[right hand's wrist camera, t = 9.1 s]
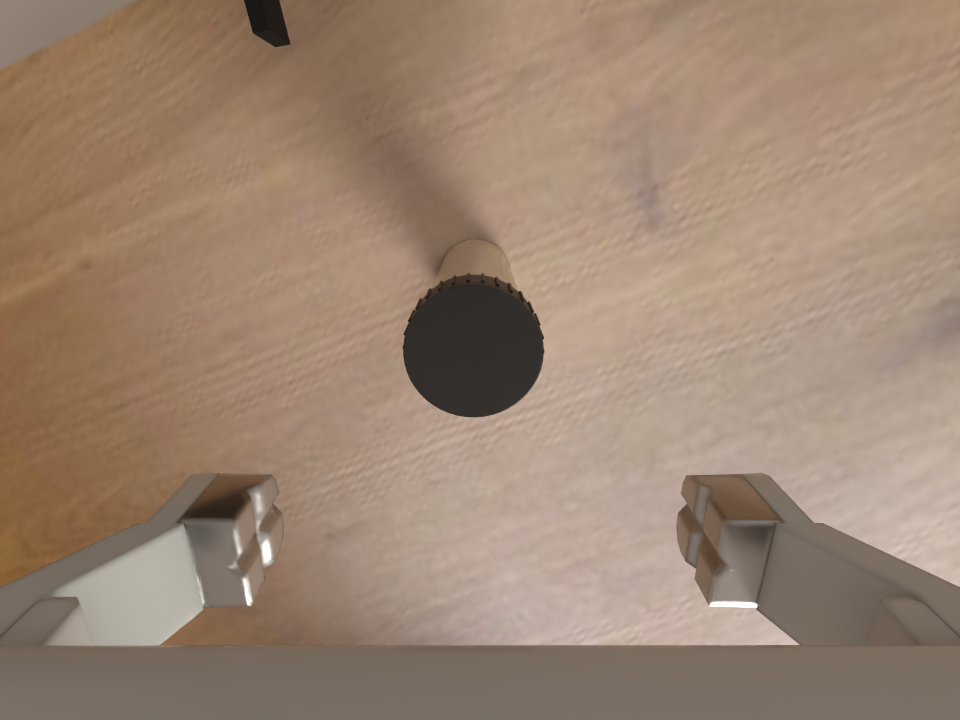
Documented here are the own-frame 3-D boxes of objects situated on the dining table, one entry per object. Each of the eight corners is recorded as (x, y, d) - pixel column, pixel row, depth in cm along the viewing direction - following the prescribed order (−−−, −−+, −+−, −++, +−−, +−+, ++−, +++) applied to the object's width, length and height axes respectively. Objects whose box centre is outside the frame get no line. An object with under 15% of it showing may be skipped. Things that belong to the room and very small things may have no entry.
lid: (422, 257, 20) (416, 266, 18) (555, 290, 20) (563, 302, 18) (396, 382, 22) (388, 402, 20) (520, 410, 22) (524, 432, 20)
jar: (449, 231, 33) (426, 276, 19) (518, 248, 33) (549, 306, 19) (433, 300, 34) (401, 391, 20) (500, 315, 35) (516, 416, 20)
